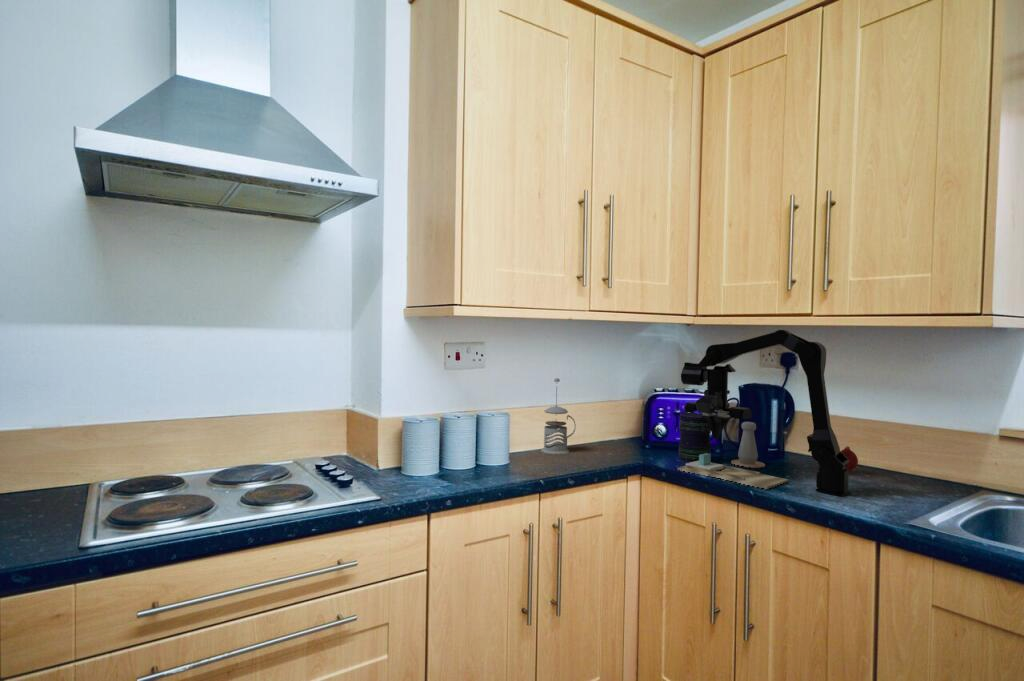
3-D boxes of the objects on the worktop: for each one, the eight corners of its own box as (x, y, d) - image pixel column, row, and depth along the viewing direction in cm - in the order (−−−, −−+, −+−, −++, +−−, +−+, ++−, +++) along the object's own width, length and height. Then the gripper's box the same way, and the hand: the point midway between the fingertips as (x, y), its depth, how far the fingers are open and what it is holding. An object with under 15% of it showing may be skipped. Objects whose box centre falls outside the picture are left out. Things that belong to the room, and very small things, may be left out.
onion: (856, 476, 171) (857, 449, 171) (834, 472, 175) (835, 446, 175) (858, 472, 176) (859, 446, 176) (837, 469, 179) (837, 443, 179)
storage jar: (673, 460, 186) (674, 414, 186) (686, 456, 194) (687, 411, 194) (702, 466, 180) (704, 418, 180) (715, 461, 187) (716, 415, 187)
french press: (541, 447, 203) (543, 376, 203) (574, 448, 202) (576, 377, 202) (540, 453, 194) (541, 378, 193) (575, 454, 192) (576, 379, 192)
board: (788, 482, 162) (788, 476, 162) (767, 489, 153) (767, 483, 153) (700, 464, 182) (700, 459, 182) (677, 470, 173) (677, 464, 173)
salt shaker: (743, 465, 180) (744, 423, 180) (734, 461, 186) (735, 420, 186) (761, 465, 181) (762, 423, 181) (751, 461, 187) (752, 420, 187)
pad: (770, 465, 183) (770, 463, 183) (755, 469, 177) (755, 468, 177) (740, 459, 191) (740, 458, 191) (725, 463, 184) (725, 462, 184)
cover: (723, 468, 173) (724, 455, 173) (709, 472, 168) (710, 458, 168) (699, 463, 179) (699, 450, 179) (685, 466, 174) (685, 453, 174)
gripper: (674, 385, 173) (673, 437, 173) (733, 390, 159) (732, 447, 159) (694, 383, 180) (693, 433, 180) (752, 389, 166) (751, 443, 167)
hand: (716, 439), depth 171 cm, fingers closed
